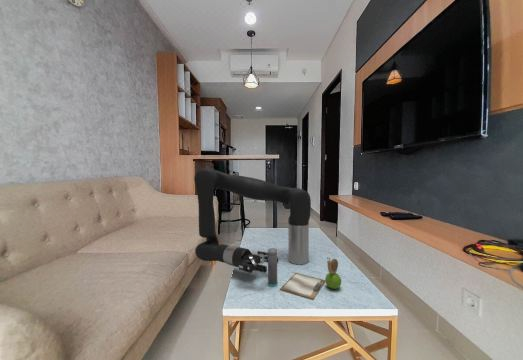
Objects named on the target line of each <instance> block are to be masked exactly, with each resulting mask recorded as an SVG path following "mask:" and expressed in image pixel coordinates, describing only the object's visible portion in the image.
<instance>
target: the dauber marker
mask: <svg viewBox="0 0 523 360" xmlns="http://www.w3.org/2000/svg"><path fill="white" fill-rule="evenodd" d="M267 253H268V262H267V285H268V287H269V288H275V287H277V286H278V263H277V258H278V250H277V248H268V249H267Z"/></svg>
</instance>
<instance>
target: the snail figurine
mask: <svg viewBox="0 0 523 360" xmlns="http://www.w3.org/2000/svg"><path fill="white" fill-rule="evenodd" d="M326 259H327V261H326V262H327V270H328V273H327V274H326V276H325V279H324V280H325V284H326V286H327V287H328V288H330V289H331V290H336V289H339V288H340V287H341V285H342V278H341V276H340V275H339V274H338V273H337V272H338V267H339V262H338V260H337V259H336V258H332V259H331V258H330V257H329V256H328V257H326Z"/></svg>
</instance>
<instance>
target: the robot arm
mask: <svg viewBox="0 0 523 360" xmlns="http://www.w3.org/2000/svg"><path fill="white" fill-rule="evenodd" d="M193 179H194V185H195V189H196V190H195V191H196V195H197V203H198V235H199V236H200V237H201V238H203V239H204V238H205V239H206V241H204V242H201V243H199V244H198V245H197V246H196V247H195V248H194V249H195V251H194V252H195V253H194V254H195V255H196V257H197V258H198V259H199V260H201V261H207V262H220V263H223V264H227V265H229V266H232V267H235V268H238V270H240V271H243V272H246V273H249V274H252V273H254V272H260V273H263V274H266V273H268V266H266V265H263V264H265V263H268V252H266V251H259V250H258V251H257V253H252V252H251V250H250V249H249V248H245V247H241V246H240V247H239V246H235V245H228V244H222V243H221V244H220V243H219V240H218V237H217V236H218V235H217V232H216V216H215V215H216V214H215V207H214V206H215V205H214V192H215V189H219V190H224V191H227V192H231V193H233V194H235V195H238V196H240V197H243V198H246V199H250V200H251V199H252V200H255V201H256V200H257V201H262V202H263V201H268V202H269V201H270V202H278V203H282V204H284V205H288V206H290V208H289V209H290V210H289V211H290V212H289V217H288V220H287V222H288V228H287V229H288V230H287V231H288V232H287V234H288V239H287V240H288V246H287V247H288V262H290V263H291V264H294V265H304V264H307V263H309V261H310V260H309V258H310V255H309V254H310V252H309V250H310V249H309V247H310V246H309V244H310V241H309V240H310V239H309V238H310V237H309V234H310V230H309V229H310V227H309V226H310V224H309V223H310V219H311V211H312V210H311V205H312V203H311V196H310V193H309V192H308V191H306V190H305V189H302V188H298V187H287V186H280V185H277V184H275V183H272V182H269V181H266V180H263V179H258V178H255V177H249V176H244V175H236V174H235V175H234V174H229V173H225V172H222V171H219V170H216V169H214V168H212V167H202V168H200V169H198V170H197V171H196V172H195V175H194V177H193ZM277 264H279V258H278V257H277Z"/></svg>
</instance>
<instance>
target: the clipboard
mask: <svg viewBox="0 0 523 360" xmlns="http://www.w3.org/2000/svg"><path fill="white" fill-rule="evenodd" d="M324 284H326V281H325V279H322V278H319V277H315V276H310V275H306V274H302V273H299V272H294V273H293V275H292V276H290V278H289V279H288V280H287V281H286V282H285V283H284V284H283V285H282V286H281V287H280V288H279V290H280V291H282V292H284V293H289V294H293V295H295V296H298V297H301V298H304V299H308V300H311V301H314V300H315V298H316V296H317V295H318V294H319V292H320V290H321V289H322V288H323V285H324Z"/></svg>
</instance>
